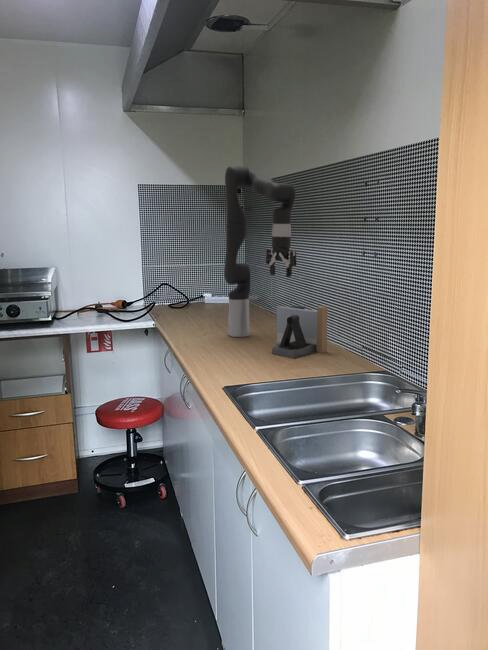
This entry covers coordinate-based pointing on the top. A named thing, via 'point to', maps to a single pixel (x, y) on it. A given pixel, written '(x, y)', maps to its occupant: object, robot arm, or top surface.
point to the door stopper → (298, 334)
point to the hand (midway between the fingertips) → (280, 275)
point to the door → (305, 325)
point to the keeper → (296, 352)
